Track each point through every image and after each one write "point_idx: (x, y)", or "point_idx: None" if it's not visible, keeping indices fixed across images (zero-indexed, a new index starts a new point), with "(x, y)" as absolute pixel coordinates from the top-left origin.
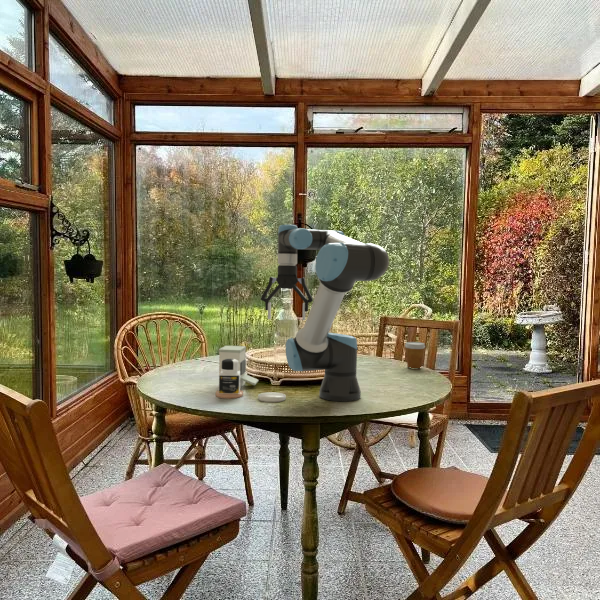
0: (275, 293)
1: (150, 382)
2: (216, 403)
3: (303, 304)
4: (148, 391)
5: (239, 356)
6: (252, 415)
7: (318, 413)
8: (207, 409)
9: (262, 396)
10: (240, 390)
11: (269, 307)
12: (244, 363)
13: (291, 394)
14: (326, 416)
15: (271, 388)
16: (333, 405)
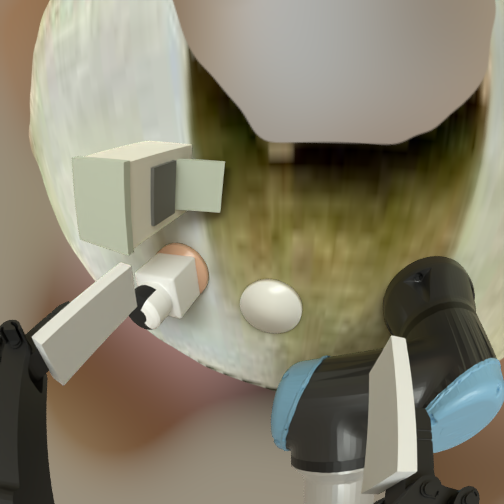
0: (32, 449)
1: (46, 166)
2: (177, 320)
3: (368, 485)
4: (66, 233)
5: (139, 244)
6: (244, 381)
7: None
8: (176, 346)
9: (250, 315)
10: (196, 262)
11: (85, 358)
12: (159, 184)
13: (320, 272)
14: None
15: (269, 204)
16: None
